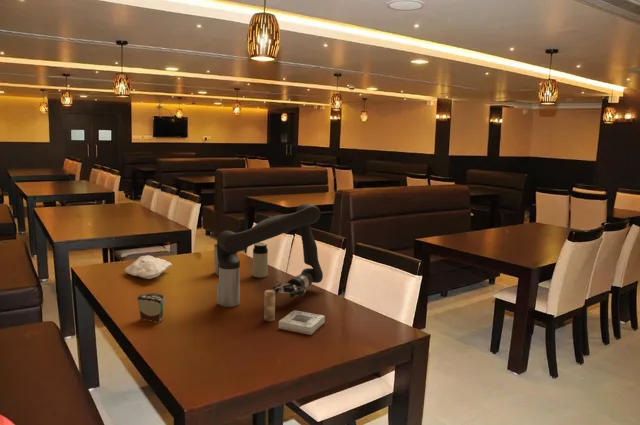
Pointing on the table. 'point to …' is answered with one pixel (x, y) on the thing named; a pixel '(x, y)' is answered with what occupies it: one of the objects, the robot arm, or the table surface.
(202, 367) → the table surface
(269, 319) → the peg
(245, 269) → the table surface
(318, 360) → the table surface
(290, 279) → the robot arm
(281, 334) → the table surface
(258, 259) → the travel mug
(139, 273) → the crumpled cloth
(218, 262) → the coffee box
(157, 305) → the food container
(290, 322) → the beige flat square frame
